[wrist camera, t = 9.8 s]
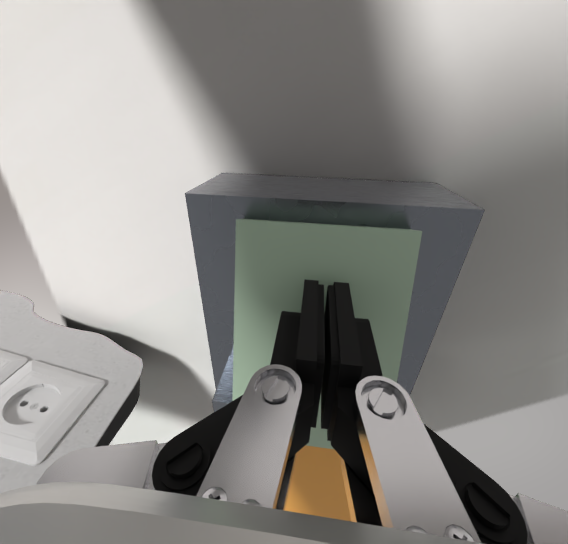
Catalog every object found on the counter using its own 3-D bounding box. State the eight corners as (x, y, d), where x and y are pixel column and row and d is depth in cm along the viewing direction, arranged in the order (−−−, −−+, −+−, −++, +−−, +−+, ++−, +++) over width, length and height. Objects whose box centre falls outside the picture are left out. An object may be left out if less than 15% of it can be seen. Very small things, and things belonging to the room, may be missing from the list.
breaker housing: (222, 173, 16) (145, 215, 9) (436, 182, 15) (539, 240, 8) (241, 399, 26) (213, 499, 19) (367, 414, 25) (385, 527, 18)
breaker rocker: (248, 218, 12) (235, 219, 10) (404, 228, 12) (422, 231, 10) (238, 544, 17) (228, 587, 15) (352, 564, 16) (357, 612, 14)
